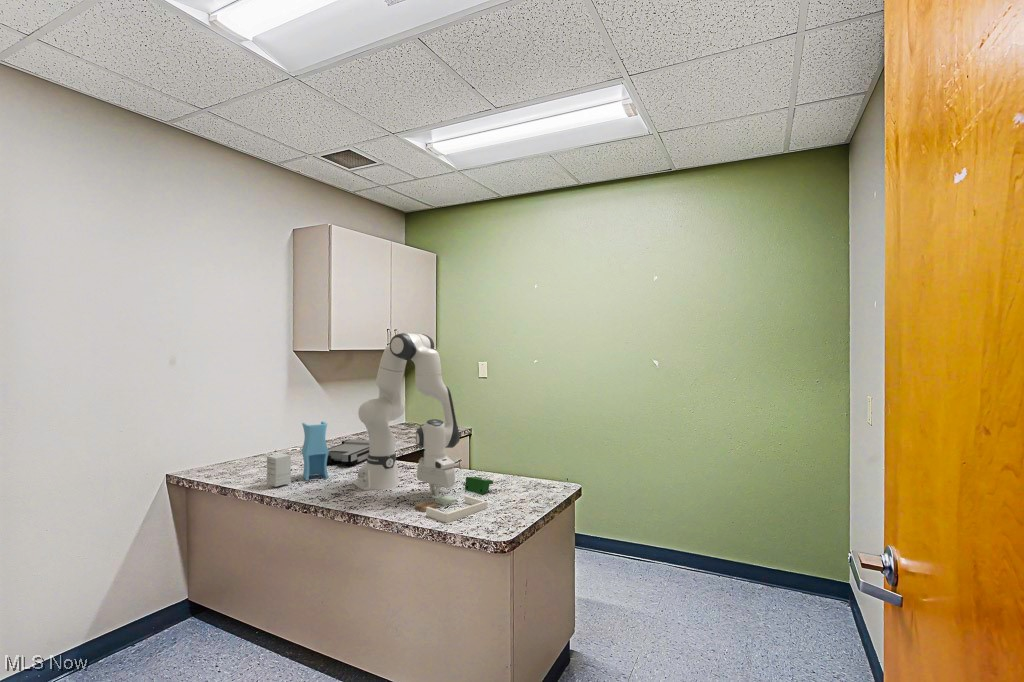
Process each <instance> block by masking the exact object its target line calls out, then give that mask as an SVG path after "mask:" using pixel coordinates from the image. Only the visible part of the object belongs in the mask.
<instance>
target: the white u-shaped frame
mask: <svg viewBox="0 0 1024 682" xmlns="http://www.w3.org/2000/svg"><path fill="white" fill-rule="evenodd" d="M464 503H465V504H469V506H465V507H462V508H459V509H456V510H453V511H449V512H446V511H441V510H439V509H437V508H435V509H433V508H430V507H426V512H425V516H427V517H428V518H432V519H434V520H437V521H440V522H443V523H446V524H448V523H451V522H453V521H454V522H455V520H459V519H461V518H465V517H467V516H469V515H470V516H471V515H472V514H475V513H477V512H480V511H484V510H485V509H488V501H487V500H484V499H479V498H477V497H474V496H470V495H464Z"/></svg>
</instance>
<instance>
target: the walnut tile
mask: <svg viewBox="0 0 1024 682" xmlns="http://www.w3.org/2000/svg"><path fill="white" fill-rule="evenodd" d="M426 507H430V508H433V509H438V503H436V502H435V503H434V502H431V501H428V500H426V501H423V502H419V503H416V504H414V510H417V511H420V512H423V513H426Z"/></svg>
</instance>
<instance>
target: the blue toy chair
mask: <svg viewBox="0 0 1024 682" xmlns="http://www.w3.org/2000/svg"><path fill="white" fill-rule="evenodd" d="M301 425H302V427H303V433H304V434H303V435H304V441H303V446H302V449H301V453H302V457H303V473H302V477H303V478H304V479H305V481H309V478H310V476H314V475H315V476H316V475H323V476H324V478H325V479H326V478H329V474H328V469H327V468H328V467H327V466H328V465H327V458H328V454H329V451H328V444H327V441H326V433H327V427H328V423H327V422H325V421H320V424H319V423H317V424H307V423H305V422H302V423H301Z"/></svg>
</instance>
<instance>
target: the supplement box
mask: <svg viewBox="0 0 1024 682" xmlns="http://www.w3.org/2000/svg"><path fill="white" fill-rule="evenodd" d="M291 458H292V457H291V455H290V454H286V453H282V452H281V453H277V454H272V455H267V456H266V484H267V485H269V486H273V487H279V486H283V485H287V484H291V481H292V480H291V471H292V469H291V467H292V465H291V461H292V459H291Z"/></svg>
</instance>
